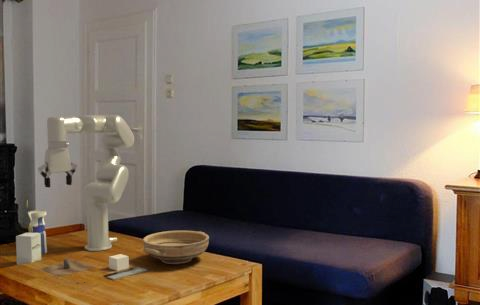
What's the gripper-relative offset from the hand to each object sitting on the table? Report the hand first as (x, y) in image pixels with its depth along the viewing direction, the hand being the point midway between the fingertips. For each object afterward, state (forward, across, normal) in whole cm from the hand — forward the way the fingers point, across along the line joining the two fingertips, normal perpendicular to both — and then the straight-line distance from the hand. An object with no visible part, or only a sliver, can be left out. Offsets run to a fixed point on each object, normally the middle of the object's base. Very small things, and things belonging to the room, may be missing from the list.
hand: (58, 185), depth 216 cm
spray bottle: (+34, -2, -24) cm, 41 cm away
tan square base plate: (+33, +5, +14) cm, 36 cm away
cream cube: (+33, -9, +30) cm, 45 cm away
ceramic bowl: (+34, -35, +35) cm, 60 cm away
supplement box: (+34, +9, -10) cm, 36 cm away
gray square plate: (+33, -9, +30) cm, 46 cm away
